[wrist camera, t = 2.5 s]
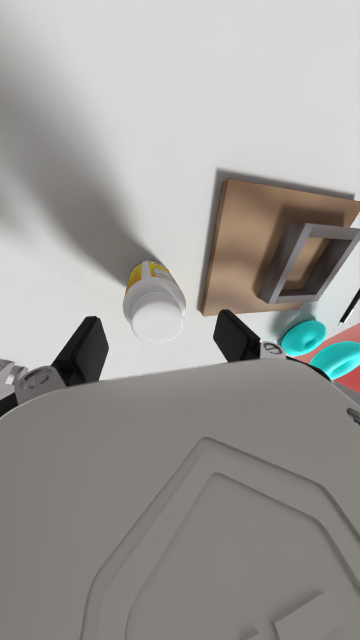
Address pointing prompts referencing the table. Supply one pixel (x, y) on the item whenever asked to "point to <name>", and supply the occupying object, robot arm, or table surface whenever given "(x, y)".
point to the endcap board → (275, 247)
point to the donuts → (329, 359)
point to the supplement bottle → (154, 303)
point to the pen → (350, 309)
